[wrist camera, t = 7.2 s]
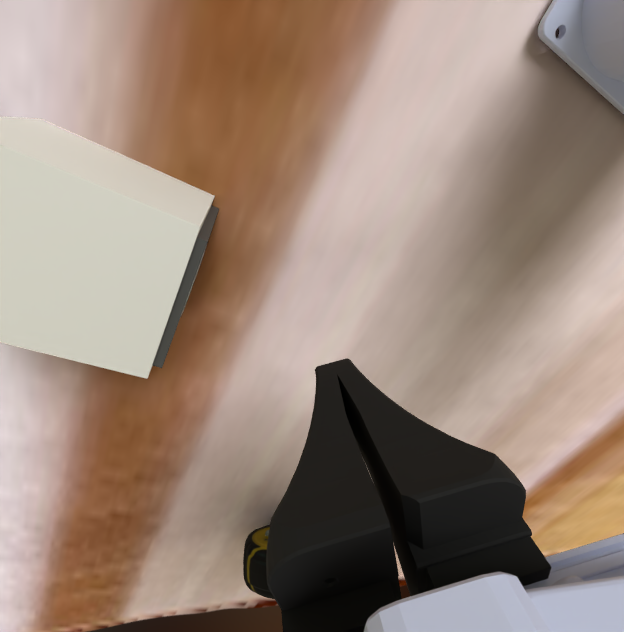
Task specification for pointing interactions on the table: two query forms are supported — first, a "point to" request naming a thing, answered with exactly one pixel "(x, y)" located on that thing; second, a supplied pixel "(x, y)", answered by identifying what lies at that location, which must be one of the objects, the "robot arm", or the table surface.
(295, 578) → the robot arm
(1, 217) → the white block
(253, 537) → the tape measure
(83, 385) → the table surface
